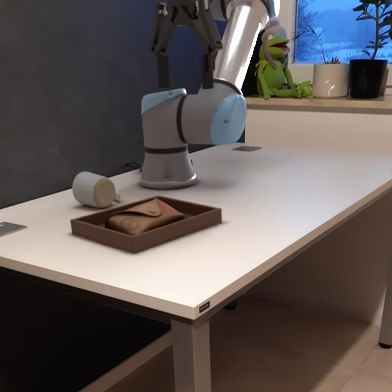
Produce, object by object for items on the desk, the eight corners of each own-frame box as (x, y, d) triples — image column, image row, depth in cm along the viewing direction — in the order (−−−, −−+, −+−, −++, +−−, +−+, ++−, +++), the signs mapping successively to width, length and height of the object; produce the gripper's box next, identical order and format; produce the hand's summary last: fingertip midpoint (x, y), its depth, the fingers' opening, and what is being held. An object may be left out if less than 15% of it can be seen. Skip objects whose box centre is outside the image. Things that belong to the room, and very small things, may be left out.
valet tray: (72, 234, 111) (69, 219, 110) (158, 208, 126) (158, 195, 125) (134, 253, 99) (132, 237, 98) (221, 222, 114) (221, 208, 113)
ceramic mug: (97, 211, 125) (93, 177, 121) (73, 207, 130) (69, 174, 126) (129, 202, 132) (126, 170, 129) (106, 198, 137) (102, 167, 133)
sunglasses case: (138, 238, 103) (121, 206, 102) (116, 251, 108) (99, 221, 107) (188, 215, 117) (174, 186, 115) (166, 227, 121) (152, 200, 120)
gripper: (126, -23, 114) (135, 88, 125) (214, -37, 99) (216, 90, 110) (152, -21, 119) (159, 86, 130) (240, -34, 104) (239, 88, 114)
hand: (185, 88), depth 120 cm, fingers open, 13 cm apart
